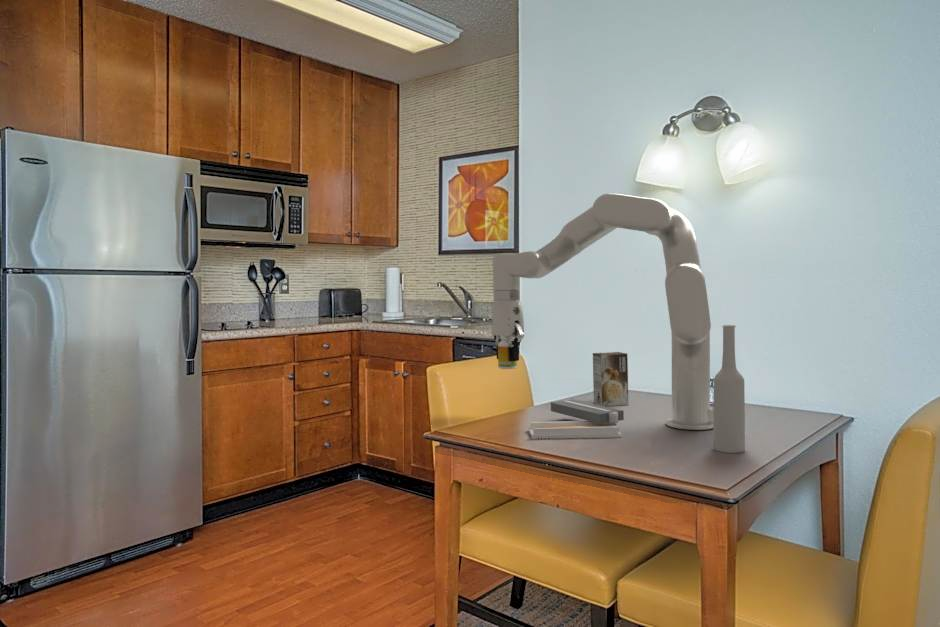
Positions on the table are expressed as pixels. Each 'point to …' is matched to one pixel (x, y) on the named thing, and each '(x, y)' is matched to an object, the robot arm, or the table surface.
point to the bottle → (729, 400)
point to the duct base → (573, 430)
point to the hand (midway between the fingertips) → (507, 359)
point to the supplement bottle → (505, 354)
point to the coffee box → (610, 378)
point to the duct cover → (588, 411)
